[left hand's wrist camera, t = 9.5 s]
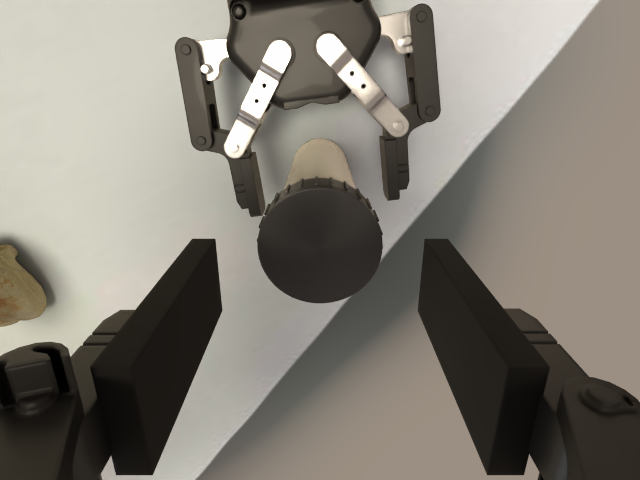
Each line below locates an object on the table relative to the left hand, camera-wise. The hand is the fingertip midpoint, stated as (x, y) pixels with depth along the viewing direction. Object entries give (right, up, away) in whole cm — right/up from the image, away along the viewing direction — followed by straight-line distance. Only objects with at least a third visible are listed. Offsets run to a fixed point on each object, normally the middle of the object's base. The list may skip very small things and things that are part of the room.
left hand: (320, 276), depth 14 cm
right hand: (0, +3, +12) cm, 13 cm away
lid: (0, +1, +3) cm, 3 cm away
